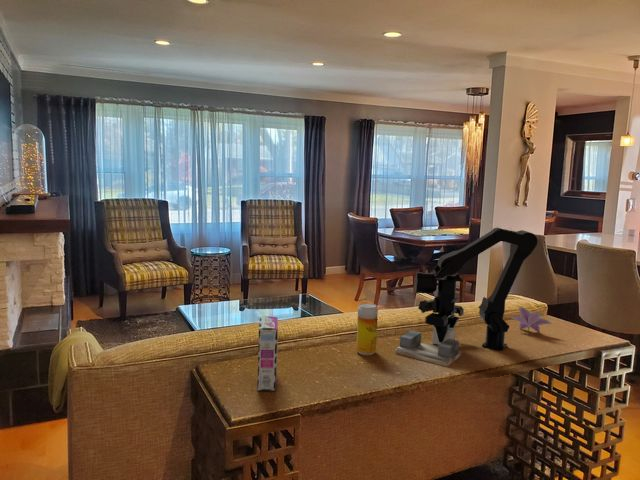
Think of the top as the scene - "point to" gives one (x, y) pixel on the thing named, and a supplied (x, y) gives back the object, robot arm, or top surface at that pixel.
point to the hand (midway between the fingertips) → (443, 340)
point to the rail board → (428, 349)
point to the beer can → (367, 329)
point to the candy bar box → (267, 353)
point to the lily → (530, 320)
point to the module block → (449, 335)
